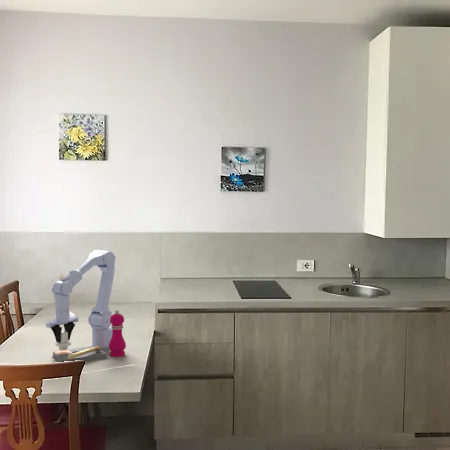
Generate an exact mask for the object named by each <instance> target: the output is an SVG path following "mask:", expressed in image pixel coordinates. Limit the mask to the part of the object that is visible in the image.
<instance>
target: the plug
mask: <svg viewBox="0 0 450 450" xmlns="http://www.w3.org/2000/svg"><path fill="white" fill-rule="evenodd" d="M54 344H55V346H56V347H58V351H62V350H69V348H68V347H69V346H71V344H72V342H71V340H69V341H68V331H65V330H61V342H60V343H58V342H56V341H55V343H54Z"/></svg>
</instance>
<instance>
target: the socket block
mask: <svg viewBox="0 0 450 450" xmlns="http://www.w3.org/2000/svg"><path fill="white" fill-rule="evenodd" d="M92 347H95V346H84V347H76V348H70V349H69V348H68V349H67V350H56V351H52V357H53V358H54V359H55V360H56V362H57V363H59V362H64V361H75V360H86V361H85V362H90V361H96V360H102V359H107V357H108V355H107V352H105V351H104V350H103V349H101V350H97V351H94V352H91V353H88V354H85V355H82V356H79V357H76V358H73V359H68V355H70V354H73V353H77V352H80V351H83V350H86V349H89V348H92Z"/></svg>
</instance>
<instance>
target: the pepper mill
mask: <svg viewBox="0 0 450 450" xmlns="http://www.w3.org/2000/svg"><path fill="white" fill-rule="evenodd" d="M110 322H111V325H110V327H111V329H112V331H113V333H112V338H111V340H110V343H109V348H108V349H109V350H110V352H109V355H110V357H112V358H120V357H124V356H125V354H126V351H125V349H126V347H127V345H126V344H127V343H126V340H125V339H124V336H123V329H124V325H123V323H124V322H125V317H124V315H123V314H121V313H120V311H119V310H118V309H116V310H115V311H114V314H113V313H112V315H111V317H110Z"/></svg>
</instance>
